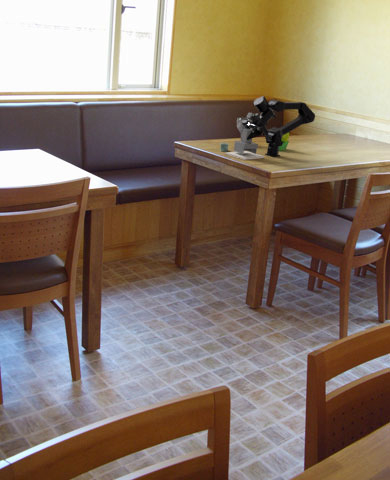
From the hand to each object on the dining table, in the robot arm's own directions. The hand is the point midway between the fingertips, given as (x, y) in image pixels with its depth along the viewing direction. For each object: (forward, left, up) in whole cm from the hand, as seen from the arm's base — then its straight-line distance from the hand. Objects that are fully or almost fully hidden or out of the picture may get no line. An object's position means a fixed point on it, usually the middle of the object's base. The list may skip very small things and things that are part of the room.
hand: (244, 138), depth 330 cm
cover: (-1, 0, -8) cm, 8 cm away
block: (0, -15, -10) cm, 18 cm away
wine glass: (-28, -28, -10) cm, 41 cm away
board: (-1, 0, -10) cm, 10 cm away
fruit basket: (-40, -7, -10) cm, 42 cm away
